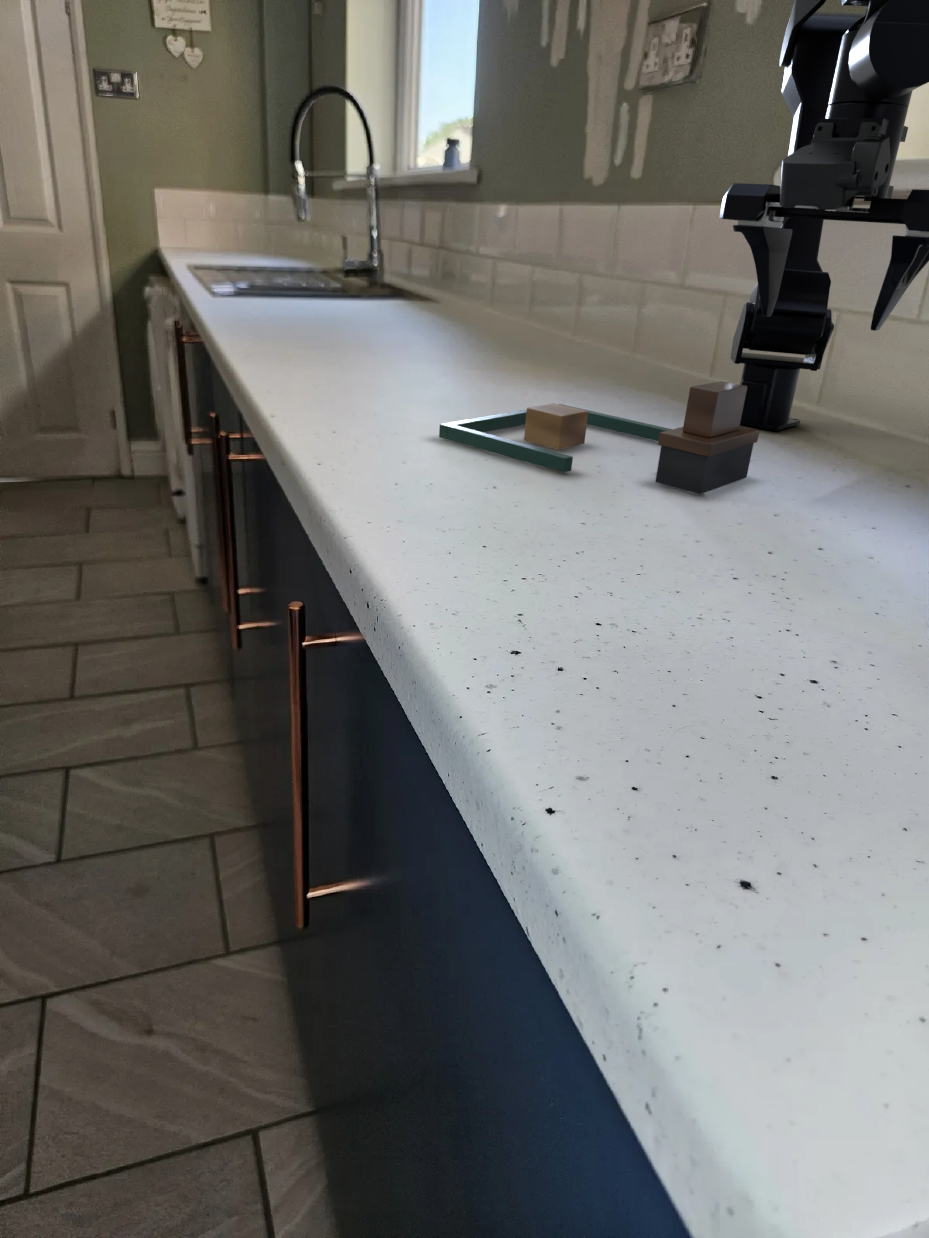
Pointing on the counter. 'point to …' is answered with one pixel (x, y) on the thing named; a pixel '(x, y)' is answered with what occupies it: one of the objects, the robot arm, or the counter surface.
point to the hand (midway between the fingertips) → (818, 323)
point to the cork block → (555, 426)
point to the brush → (708, 441)
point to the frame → (474, 436)
